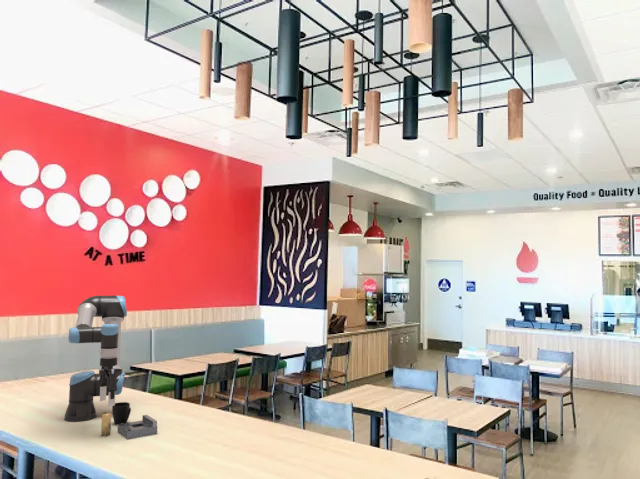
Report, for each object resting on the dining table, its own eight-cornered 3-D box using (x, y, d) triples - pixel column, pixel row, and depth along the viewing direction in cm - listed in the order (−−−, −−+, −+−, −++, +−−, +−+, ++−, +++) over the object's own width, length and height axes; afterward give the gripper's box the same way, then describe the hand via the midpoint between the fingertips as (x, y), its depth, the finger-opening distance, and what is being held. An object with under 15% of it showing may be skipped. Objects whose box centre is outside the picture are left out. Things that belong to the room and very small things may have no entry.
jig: (117, 431, 247) (118, 419, 247) (146, 426, 256) (147, 414, 256) (127, 439, 236) (127, 425, 236) (157, 433, 245) (157, 420, 245)
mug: (120, 428, 253) (121, 408, 254) (108, 423, 261) (109, 404, 262) (136, 424, 259) (136, 405, 260) (123, 420, 267) (124, 401, 268)
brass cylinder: (100, 435, 242) (100, 413, 243) (108, 433, 245) (109, 411, 245) (102, 437, 239) (103, 415, 240) (111, 435, 241) (112, 413, 242)
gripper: (93, 354, 252) (91, 399, 250) (108, 361, 232) (106, 409, 230) (109, 353, 256) (107, 397, 255) (125, 359, 237) (123, 407, 235)
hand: (106, 403), depth 242 cm, fingers open, 13 cm apart
